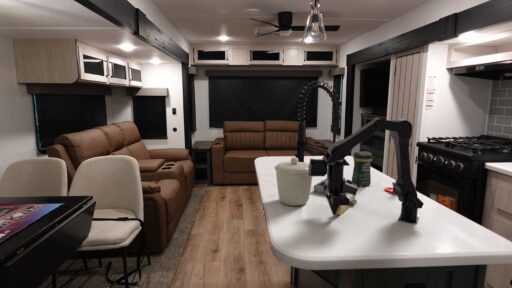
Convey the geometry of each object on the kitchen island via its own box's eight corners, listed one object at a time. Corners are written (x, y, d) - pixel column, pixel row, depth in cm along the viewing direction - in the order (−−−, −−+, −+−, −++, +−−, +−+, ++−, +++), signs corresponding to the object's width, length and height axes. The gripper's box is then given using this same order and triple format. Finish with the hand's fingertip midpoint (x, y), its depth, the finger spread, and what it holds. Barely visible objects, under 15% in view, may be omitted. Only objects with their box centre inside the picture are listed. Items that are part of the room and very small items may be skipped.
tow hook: (382, 188, 152) (387, 193, 143) (383, 165, 151) (389, 168, 141) (399, 189, 151) (405, 194, 142) (400, 165, 149) (407, 169, 140)
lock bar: (340, 215, 116) (340, 205, 115) (334, 214, 117) (334, 204, 116) (355, 201, 132) (356, 192, 131) (350, 200, 133) (351, 191, 132)
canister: (314, 197, 138) (316, 154, 135) (311, 211, 121) (313, 163, 117) (278, 194, 143) (278, 152, 139) (270, 207, 126) (270, 160, 122)
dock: (353, 206, 126) (354, 198, 126) (307, 196, 140) (307, 189, 139) (368, 192, 144) (368, 186, 144) (325, 184, 158) (325, 178, 157)
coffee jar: (357, 187, 153) (359, 153, 151) (349, 182, 161) (351, 150, 158) (373, 186, 155) (375, 152, 152) (364, 181, 163) (366, 150, 160)
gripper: (365, 183, 101) (362, 224, 104) (349, 170, 119) (347, 205, 122) (333, 183, 101) (332, 224, 104) (322, 170, 120) (321, 205, 122)
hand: (334, 214), depth 113 cm, fingers closed
